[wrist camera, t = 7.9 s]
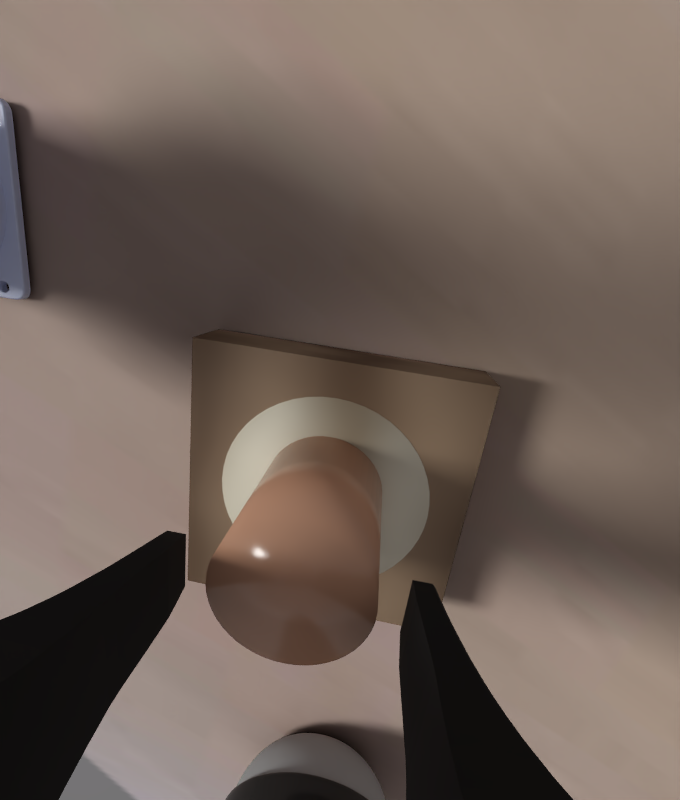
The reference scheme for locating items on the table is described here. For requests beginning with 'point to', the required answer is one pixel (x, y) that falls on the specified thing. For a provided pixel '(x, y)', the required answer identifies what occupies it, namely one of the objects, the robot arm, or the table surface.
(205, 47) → the table surface
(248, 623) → the terracotta cylinder
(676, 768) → the table surface
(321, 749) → the black egg shaped device
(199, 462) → the plinth
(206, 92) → the table surface
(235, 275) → the table surface
